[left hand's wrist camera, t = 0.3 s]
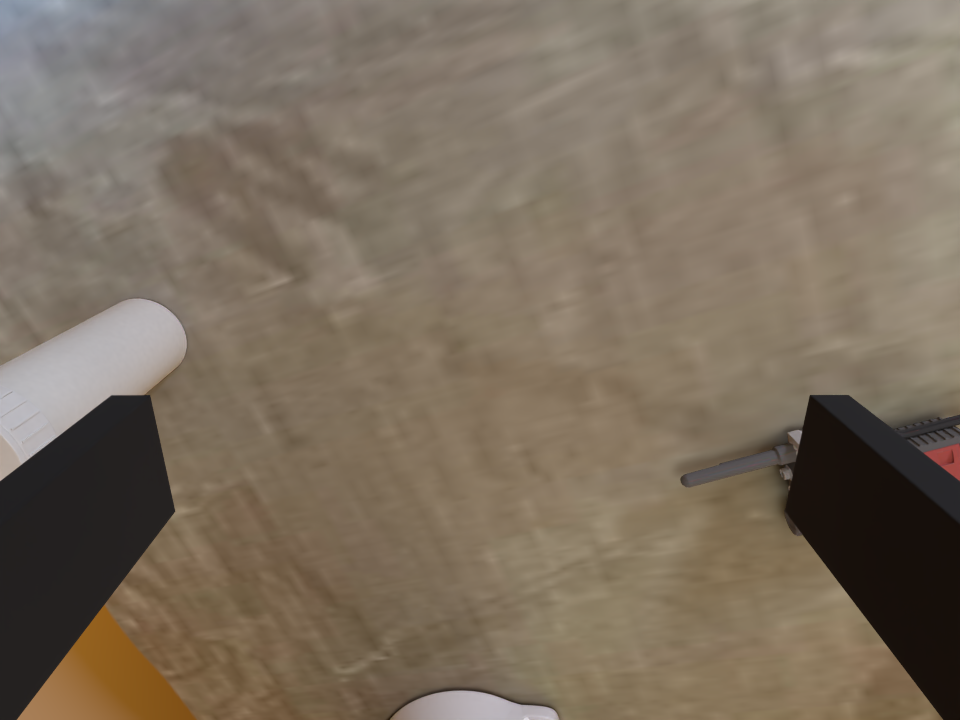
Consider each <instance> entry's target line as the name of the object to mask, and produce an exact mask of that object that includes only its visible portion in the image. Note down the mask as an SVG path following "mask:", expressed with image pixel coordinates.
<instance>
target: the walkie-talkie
mask: <svg viewBox="0 0 960 720" xmlns="http://www.w3.org/2000/svg"><path fill="white" fill-rule="evenodd" d="M959 424H960V415H957V416H953V417H949V418H946V419H942V418H940V417H938V418H936V419H930V420H928V421H923V422H921V423H915V424H913V425H910V426H905V427H902V428H897V429H894V431H896V432H897V433H898V434H899V435H901V436H902V437H903V438H905V439H906V440H907V441H909V442H910V443H911V444H912V445H914V446H915V447H916V448H918V449H919V450H920V451H922V452H923V453H924V454H925V455H927V456H928V457H929V458H931V459H932V460H933V461H934V462H936V463H937V464H938V465H940V466H941V467H942V468H944V469H945V470H946V471H947V472H949V473H950V474H951V475H953V476H954V477H955V478H957V479H958V480H959V481H960V429H959V428H957V427H956V426H955V425H959ZM801 434H802V431H800V430H795V431H791V432H788V433H787V435H788V442H789V443H788V444H784V445H780V446H776V447H774V448H773V449H772V450H770V451H766V452H762V453H758V454H754V455H751V456H747V457H743V458H739V459H735V460H732V461H728V462H724V463H720V464H719V465H717V466H714V467H710V468H706V469H703V470H699V471H696V472H692V473H688V474H685V475H683V476H682V477H681V479H680V480H681V483H682V485H684V486H685V487H693V486H697V485H700V484H704V483H708V482H712V481H716V480H719V479H723V478H727V477H731V476H735V475H738V474H742V473H746V472H750V471H754V470H757V469H761V468H765V467H769V466H773V465H776V464H779V465H784V464H786V465H785V468H781V469H780V474H781V476H782V478H784V480H787V479H788V481H789V486H788V489H789V490H790V485H791V481H792V476H793V471H794V467H795V462H796V457H797V453H798V448H799V444H800V439H801ZM784 514H785V518H786V521H787V523H788V526H789V528H790V529H791V531H792V532H793V534H795V535H797V536H800V535H802V533H801V532H800V531H799V529H798V528H797V527H796V525H795V524H794V523H793V521H792V520H791V519H790V518H789V516H788V515H787V514H786V512H785V510H784Z"/></svg>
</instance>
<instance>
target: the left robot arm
mask: <svg viewBox="0 0 960 720" xmlns="http://www.w3.org/2000/svg"><path fill="white" fill-rule="evenodd" d="M174 512H175V508H174V504H173V499H172V494H171V490H170V485H169V481H168V476H167V471H166V467H165V462H164V457H163V453H162V448H161V444H160V439H159V434H158V430H157V425H156V420H155V416H154V411H153V407H152V402H151V397H150V395H111V396H110V397H108V398H107V399H106V400H105V401H103V402H102V403H101V404H99V405H98V406H97V407H96V408H94V409H93V410H92V411H90V412H89V413H88V414H86V415H85V416H84V417H83V418H81V419H80V420H79V421H77V422H76V423H75V424H73V425H72V426H71V427H70V428H68V429H67V430H66V431H64V432H63V433H62V434H61V435H59V436H58V437H57V438H55V439H54V440H53V441H51V442H50V443H49V444H48V445H46V446H45V447H44V448H42V449H41V450H40V451H38V452H37V453H36V454H35V455H33V456H32V457H31V458H29V459H28V460H27V461H26V462H24V463H23V464H22V465H20V466H19V467H18V468H16V469H15V470H14V471H13V472H11V473H10V474H9V475H7V476H6V477H5V478H3V479H2V480H1V481H0V720H17V719H18V717H19V716H20V715H21V713H22V712H23V711H24V709H25V708H26V707H27V705H28V704H29V703H30V701H31V700H32V699H33V698H34V696H35V695H36V693H37V692H38V691H39V690H40V688H41V687H42V686H43V684H44V683H45V682H46V680H47V679H48V678H49V676H50V675H51V674H52V673H53V671H54V670H55V669H56V667H57V666H58V665H59V663H60V662H61V661H62V659H63V658H64V657H65V655H66V654H67V653H68V652H69V650H70V649H71V648H72V646H73V645H74V644H75V642H76V641H77V640H78V638H79V637H80V636H81V634H82V633H83V632H84V631H85V629H86V628H87V627H88V625H89V624H90V623H91V621H92V620H93V619H94V617H95V616H96V615H97V613H98V612H99V611H100V610H101V608H102V607H103V606H104V604H105V603H106V602H107V600H108V599H109V598H110V596H111V595H112V594H113V592H114V591H115V590H116V588H117V587H118V586H119V585H120V583H121V582H122V581H123V579H124V578H125V577H126V575H127V574H128V573H129V571H130V570H131V569H132V567H133V566H134V565H135V564H136V562H137V561H138V560H139V558H140V557H141V556H142V554H143V553H144V552H145V550H146V549H147V548H148V546H149V545H150V544H151V543H152V541H153V540H154V539H155V537H156V536H157V535H158V533H159V532H160V531H161V529H162V528H163V527H164V525H165V524H166V523H167V521H168V520H169V519H170V518H171V516H172V515H173V514H174ZM785 512H786V514H787V515H788V516H789V518H790V519H791V520H792V521H793V523H794V524H795V525H796V527H797V528H798V529H799V531H800V532H801V533H802V535H803V536H804V537H805V539H806V540H807V541H808V543H809V544H810V545H811V546H812V548H813V549H814V550H815V552H816V553H817V554H818V556H819V557H820V558H821V560H822V561H823V562H824V564H825V565H826V566H827V567H828V569H829V570H830V571H831V573H832V574H833V575H834V577H835V578H836V579H837V581H838V582H839V583H840V585H841V586H842V587H843V588H844V590H845V591H846V592H847V594H848V595H849V596H850V598H851V599H852V600H853V602H854V603H855V604H856V606H857V607H858V608H859V610H860V611H861V612H862V613H863V615H864V616H865V617H866V619H867V620H868V621H869V623H870V624H871V625H872V627H873V628H874V629H875V631H876V632H877V633H878V634H879V636H880V637H881V638H882V640H883V641H884V642H885V644H886V645H887V646H888V648H889V649H890V650H891V652H892V653H893V654H894V655H895V657H896V658H897V659H898V661H899V662H900V663H901V665H902V666H903V667H904V669H905V670H906V671H907V673H908V674H909V675H910V677H911V678H912V679H913V680H914V682H915V683H916V684H917V686H918V687H919V688H920V690H921V691H922V692H923V694H924V695H925V696H926V698H927V699H928V700H929V701H930V703H931V704H932V705H933V707H934V708H935V709H936V711H937V712H938V713H939V715H940V716H941V717H942V719H943V720H960V481H959V480H958V479H957V478H955V477H954V476H953V475H951V474H950V473H949V472H947V471H946V470H945V469H944V468H942V467H941V466H940V465H938V464H937V463H936V462H934V461H933V460H932V459H931V458H929V457H928V456H927V455H925V454H924V453H923V452H922V451H920V450H919V449H918V448H916V447H915V446H914V445H912V444H911V443H910V442H909V441H907V440H906V439H905V438H903V437H902V436H901V435H899V434H898V433H897V432H896V431H894V430H893V429H892V428H890V427H889V426H888V425H887V424H885V423H884V422H883V421H881V420H880V419H879V418H877V417H876V416H875V415H874V414H872V413H871V412H870V411H868V410H867V409H866V408H864V407H863V406H862V405H861V404H859V403H858V402H857V401H855V400H854V399H853V398H852V397H850V396H849V395H810V397H809V402H808V407H807V411H806V416H805V420H804V425H803V430H802V434H801V439H800V444H799V448H798V453H797V457H796V462H795V467H794V471H793V476H792V481H791V485H790V490H789V494H788V499H787V504H786V508H785Z"/></svg>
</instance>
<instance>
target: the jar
mask: <svg viewBox="0 0 960 720" xmlns="http://www.w3.org/2000/svg"><path fill="white" fill-rule="evenodd" d="M186 349H187V340H186V335H185V331H184V329H183V327H182V325H181V323H180V322H179V320H178V319H177V318H176V316H175V315H174V314H173V313H172V312H171V311H169V310H168V309H167V308H165V307H164V306H162V305H160V304H158V303H156V302H154V301H150V300H147V299H136V298H135V299H128V300H124V301H122V302H119V303H118V304H116V305H114V306H112V307H110V308H108V309H106V310H104V311H103V312H101V313H99V314H97V315H95V316H93V317H91V318H89V319H87V320H86V321H84V322H82V323H80V324H78V325H76V326H74V327H72V328H71V329H69V330H67V331H65V332H63V333H61V334H59V335H57V336H55V337H54V338H52V339H50V340H48V341H46V342H44V343H42V344H40V345H39V346H37V347H35V348H33V349H31V350H29V351H27V352H25V353H23V354H22V355H20V356H18V357H16V358H14V359H12V360H10V361H8V362H7V363H5V364H3V365H1V366H0V386H3V387H6V388H8V389H10V390H12V391H14V392H16V393H18V394H20V395H21V396H23V397H25V398H26V399H27V400H29V401H30V402H31V403H33V404H34V405H35V406H36V407H37V408H38V409H39V410H40V411H41V412H42V413H43V414H44V415H45V416H46V418H47V419H48V420H49V422H50V423H51V425H52V427H53V429H54V430H55V432H56V435H57V437H58V436H59V435H61V434H62V433H63V432H64V431H66V430H67V429H68V428H70V427H71V426H72V425H73V424H75V423H76V422H77V421H79V420H80V419H81V418H83V417H84V416H85V415H86V414H88V413H89V412H90V411H92V410H93V409H94V408H96V407H97V406H98V405H99V404H101V403H102V402H103V401H105V400H106V399H107V398H108V397H110V396H111V395H145V394H146V393H147V392H148V391H149V390H151V389H152V388H153V387H154V386H155V385H157V384H158V383H159V382H160V381H161V380H162V379H164V378H165V377H166V376H167V375H168V374H170V373H171V372H172V371H173V370H174V369H175V368H177V367H178V366H179V365H180V363H181V362H182V360H183V359H184V356H185V354H186Z"/></svg>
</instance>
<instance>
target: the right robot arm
mask: <svg viewBox="0 0 960 720" xmlns="http://www.w3.org/2000/svg"><path fill="white" fill-rule="evenodd" d="M390 720H559V717H558V715H557V713H556V712H555V711H554V710H553V709H551V708H548V707H543V706H534V705H520V704H516V703H513V702H510V701H508V700H505V699H503V698H500V697H497V696H494V695H491V694H487V693H482V692H475V691H446V692H440V693H435V694H431V695H428V696H424V697H422V698H419V699H417V700H415V701H413V702H411V703H409V704H407V705H406V706H404V707H403V708H401V709H400V710H399V711H398V712H396V713H395V714H394V715H393V716H392V718H391V719H390Z"/></svg>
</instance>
